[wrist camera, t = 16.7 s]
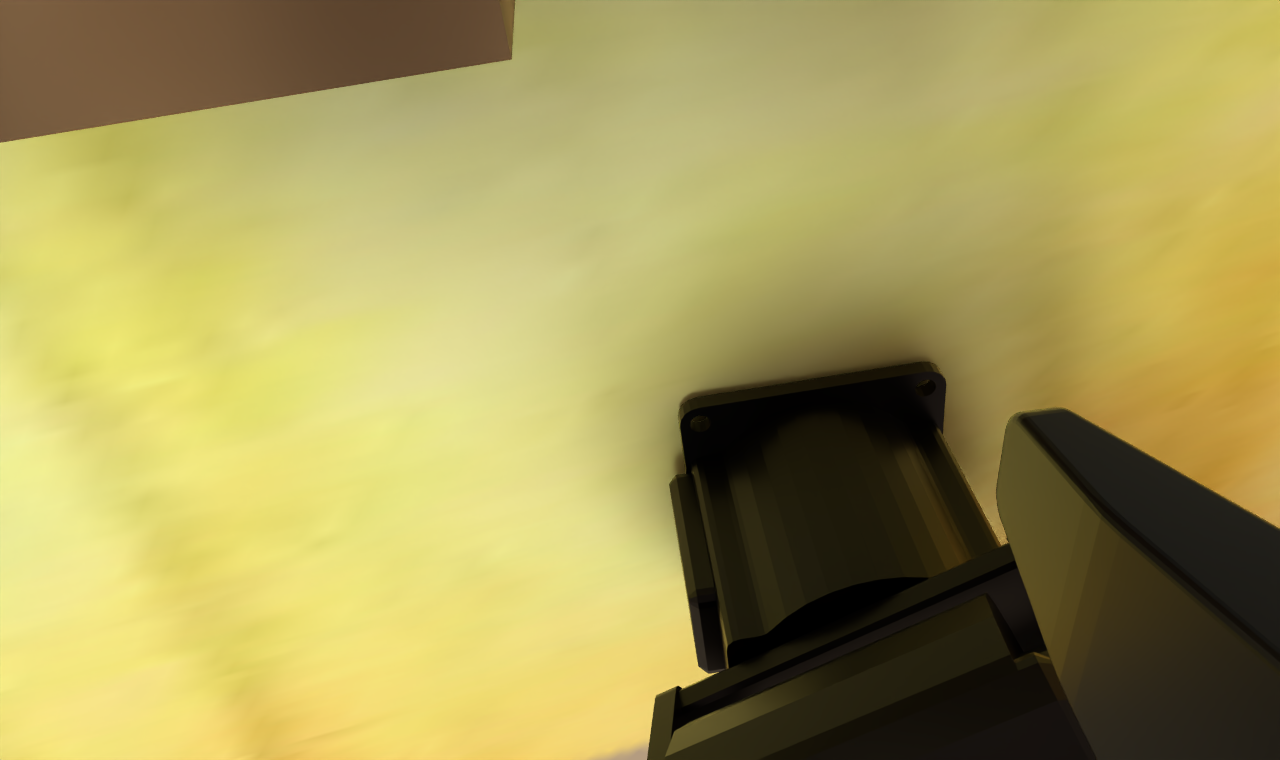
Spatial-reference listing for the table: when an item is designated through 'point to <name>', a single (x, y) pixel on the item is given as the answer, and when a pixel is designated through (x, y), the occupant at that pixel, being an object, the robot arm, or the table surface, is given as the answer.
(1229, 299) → the table surface
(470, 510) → the table surface
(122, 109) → the toolbox
